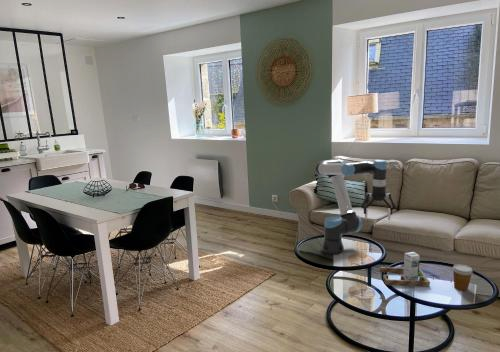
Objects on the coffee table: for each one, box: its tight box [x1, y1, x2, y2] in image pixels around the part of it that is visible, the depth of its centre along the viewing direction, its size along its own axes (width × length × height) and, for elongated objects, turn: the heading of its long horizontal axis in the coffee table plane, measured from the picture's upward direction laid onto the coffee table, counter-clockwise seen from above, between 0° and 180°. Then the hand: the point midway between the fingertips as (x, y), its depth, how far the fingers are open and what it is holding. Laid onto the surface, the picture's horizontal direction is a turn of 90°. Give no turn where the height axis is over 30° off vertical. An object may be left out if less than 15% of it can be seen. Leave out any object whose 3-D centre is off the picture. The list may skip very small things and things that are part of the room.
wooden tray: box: [379, 266, 431, 288], centre depth 210 cm, size 23×16×3 cm
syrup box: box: [403, 251, 421, 280], centre depth 211 cm, size 6×6×14 cm
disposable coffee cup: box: [452, 263, 474, 292], centre depth 197 cm, size 10×10×12 cm
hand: (377, 219), depth 226 cm, fingers open, 13 cm apart
